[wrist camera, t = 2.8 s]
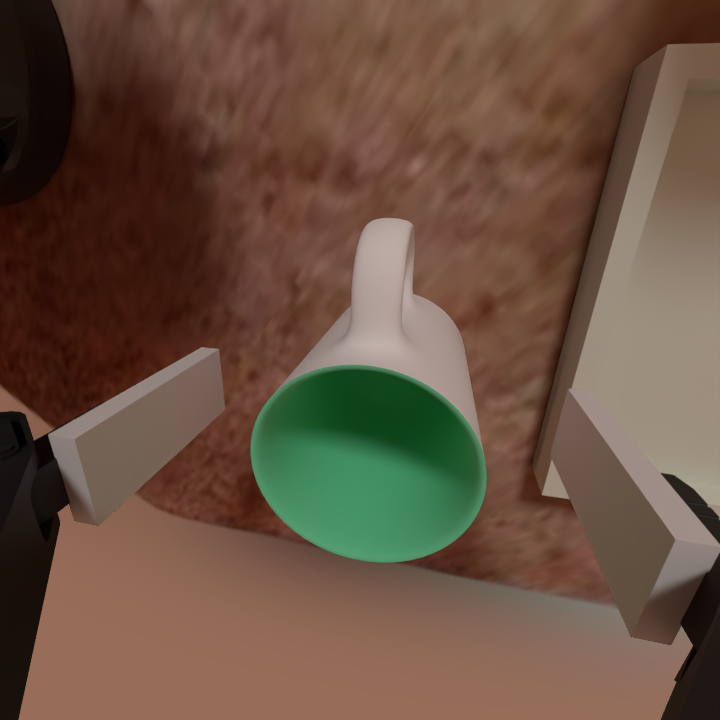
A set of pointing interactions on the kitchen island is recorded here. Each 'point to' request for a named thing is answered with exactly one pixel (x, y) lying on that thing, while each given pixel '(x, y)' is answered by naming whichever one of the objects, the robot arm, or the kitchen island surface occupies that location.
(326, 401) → the mug
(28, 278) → the kitchen island surface
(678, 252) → the tray
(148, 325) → the kitchen island surface
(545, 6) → the kitchen island surface
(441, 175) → the kitchen island surface
